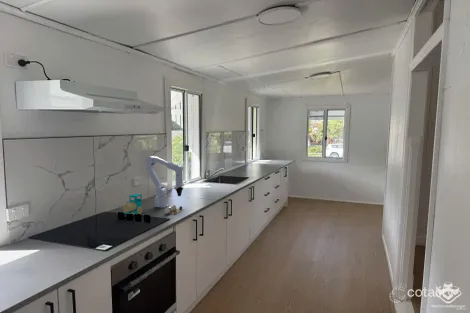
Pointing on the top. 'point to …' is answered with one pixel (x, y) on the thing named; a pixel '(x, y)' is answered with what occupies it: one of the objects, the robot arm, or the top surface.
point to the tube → (169, 209)
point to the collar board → (176, 210)
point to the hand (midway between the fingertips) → (179, 196)
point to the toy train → (133, 205)
